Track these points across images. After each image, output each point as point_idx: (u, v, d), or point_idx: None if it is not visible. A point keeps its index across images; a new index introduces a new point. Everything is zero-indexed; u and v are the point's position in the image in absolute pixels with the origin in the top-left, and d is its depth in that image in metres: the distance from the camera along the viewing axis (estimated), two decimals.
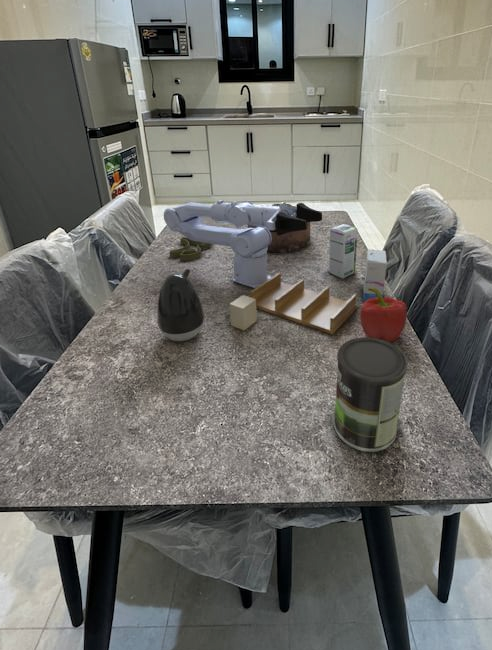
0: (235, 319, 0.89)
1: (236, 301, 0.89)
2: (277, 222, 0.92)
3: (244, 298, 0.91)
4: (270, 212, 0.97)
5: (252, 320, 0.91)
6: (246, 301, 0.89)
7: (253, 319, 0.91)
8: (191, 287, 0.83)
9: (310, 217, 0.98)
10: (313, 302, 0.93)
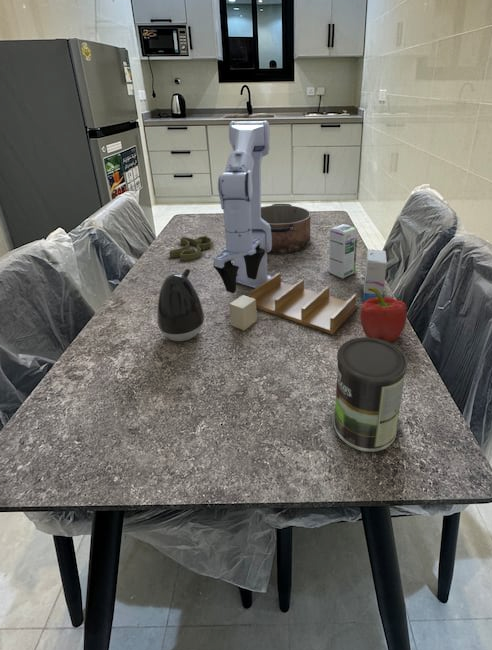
0: (235, 319, 0.89)
1: (236, 301, 0.89)
2: (224, 269, 0.80)
3: (244, 298, 0.91)
4: (239, 243, 0.80)
5: (252, 320, 0.91)
6: (246, 301, 0.89)
7: (253, 319, 0.91)
8: (191, 287, 0.83)
9: (249, 266, 0.89)
10: (313, 302, 0.93)
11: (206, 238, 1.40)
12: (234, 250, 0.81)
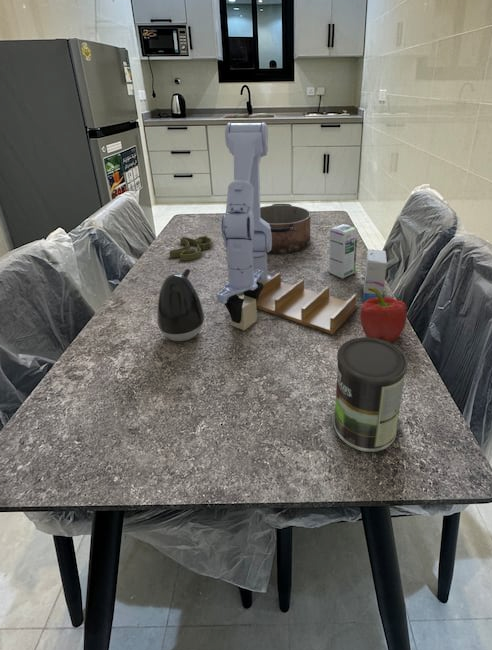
0: None
1: None
2: (230, 302, 0.84)
3: (244, 298, 0.91)
4: (241, 279, 0.84)
5: (252, 320, 0.91)
6: (246, 301, 0.90)
7: (253, 319, 0.91)
8: (191, 287, 0.83)
9: None
10: (313, 302, 0.93)
11: (206, 238, 1.40)
12: (236, 285, 0.85)
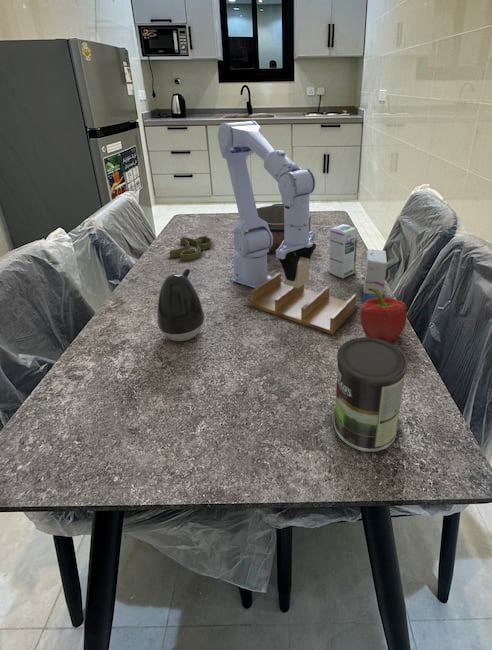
0: None
1: None
2: (287, 258, 0.87)
3: None
4: (298, 236, 0.87)
5: (305, 279, 0.94)
6: (300, 260, 0.92)
7: (306, 278, 0.94)
8: (191, 287, 0.83)
9: None
10: (313, 302, 0.93)
11: (206, 238, 1.40)
12: (293, 243, 0.87)
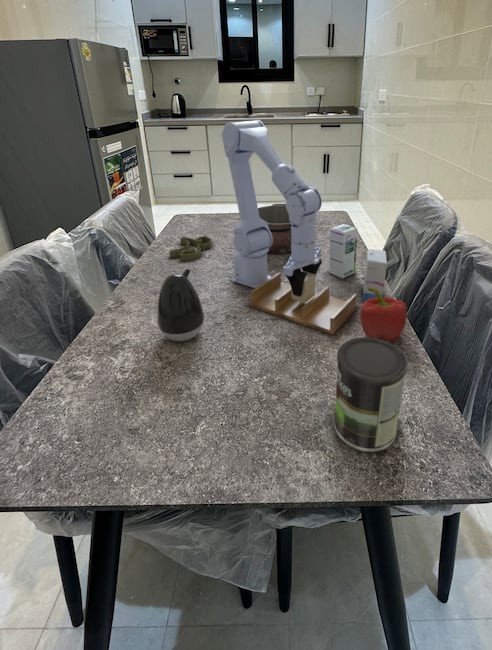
0: None
1: None
2: (294, 275, 0.90)
3: None
4: (305, 253, 0.89)
5: (311, 294, 0.96)
6: (306, 275, 0.95)
7: (312, 293, 0.97)
8: (191, 287, 0.83)
9: None
10: (313, 302, 0.93)
11: (206, 238, 1.40)
12: (300, 260, 0.90)
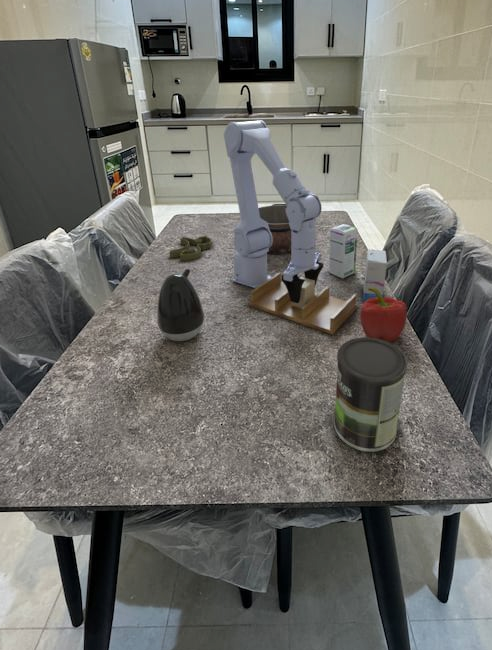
0: None
1: None
2: (292, 282, 0.89)
3: (303, 279, 0.97)
4: (305, 258, 0.90)
5: None
6: (306, 282, 0.96)
7: None
8: (191, 287, 0.83)
9: (308, 278, 0.99)
10: (313, 302, 0.93)
11: (206, 238, 1.40)
12: (300, 265, 0.91)
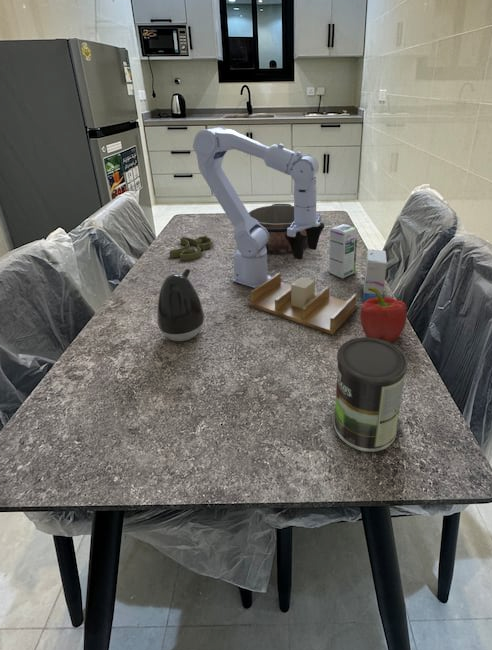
0: (296, 299, 0.95)
1: (297, 282, 0.95)
2: (295, 238, 0.96)
3: (303, 279, 0.97)
4: (307, 216, 0.96)
5: None
6: (306, 282, 0.96)
7: None
8: (191, 287, 0.83)
9: (310, 238, 1.05)
10: (313, 302, 0.93)
11: (206, 238, 1.40)
12: (302, 223, 0.97)
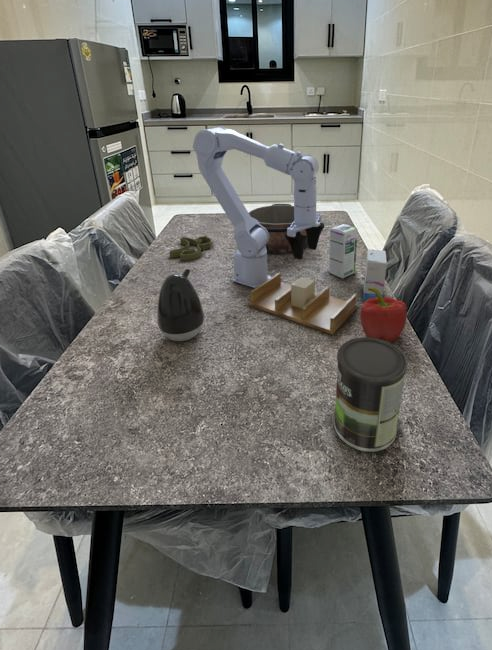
0: (296, 299, 0.95)
1: (297, 282, 0.95)
2: (295, 238, 0.96)
3: (303, 279, 0.97)
4: (307, 216, 0.96)
5: None
6: (306, 282, 0.96)
7: None
8: (191, 287, 0.83)
9: (310, 238, 1.05)
10: (313, 302, 0.93)
11: (206, 238, 1.40)
12: (302, 223, 0.97)
